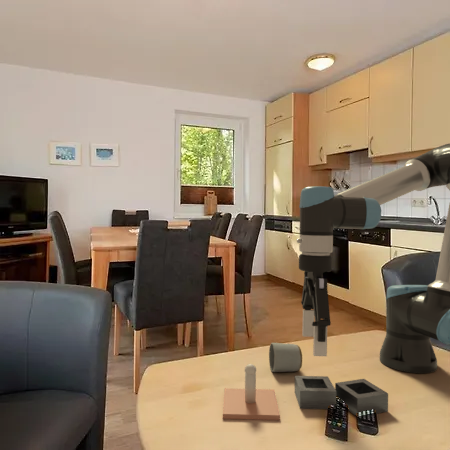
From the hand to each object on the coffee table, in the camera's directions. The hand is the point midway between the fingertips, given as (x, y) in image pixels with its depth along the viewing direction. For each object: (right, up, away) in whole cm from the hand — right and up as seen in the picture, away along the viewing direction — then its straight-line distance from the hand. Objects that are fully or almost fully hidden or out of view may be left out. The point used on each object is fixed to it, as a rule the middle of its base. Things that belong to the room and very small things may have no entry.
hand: (313, 345), depth 87 cm
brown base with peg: (-15, -13, -2) cm, 20 cm away
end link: (0, -13, 0) cm, 13 cm away
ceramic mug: (-4, -13, +19) cm, 23 cm away
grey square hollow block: (+10, -13, -2) cm, 17 cm away
